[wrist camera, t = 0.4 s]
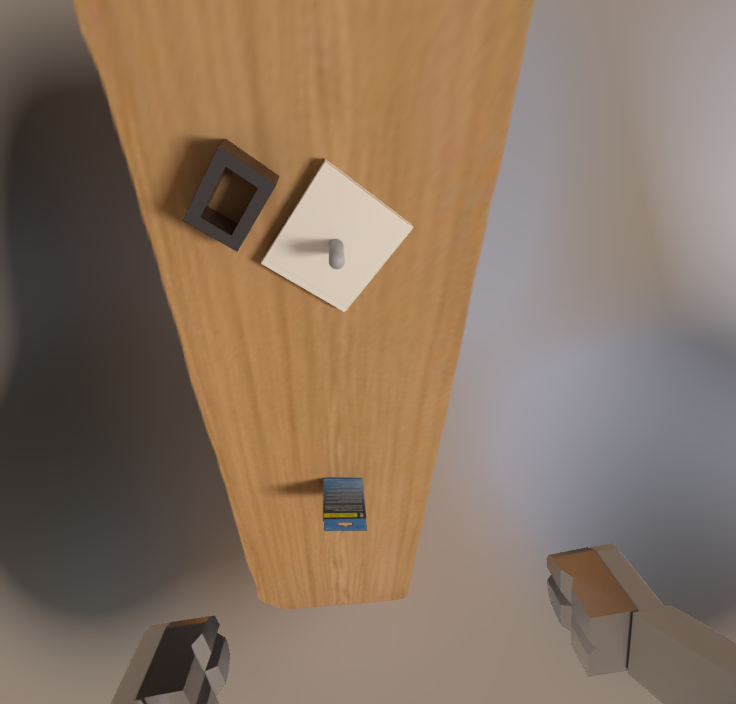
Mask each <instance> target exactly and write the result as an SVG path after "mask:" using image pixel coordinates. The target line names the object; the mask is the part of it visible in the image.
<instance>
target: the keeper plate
mask: <svg viewBox="0 0 736 704" xmlns="http://www.w3.org/2000/svg"><path fill="white" fill-rule="evenodd" d="M412 229H413V227H412V224H411V223H409V222H408V221H407V220H405V219H404V218H403V217H402V216H400V215H399V214H398V213H396V212H395V211H394V210H392V209H391V208H390V207H388V206H387V205H386V204H384V203H383V202H382V201H380V200H379V199H378V198H376V197H375V196H374V195H372V194H371V193H370V192H369V191H367V190H366V189H365V188H363V187H362V186H361V185H359V184H358V183H357V182H355V181H354V180H353V179H351V178H350V177H349V176H347V175H346V174H345V173H343V172H342V171H341V170H340V169H338V168H337V167H336V166H334V165H333V164H332V163H330V162H329V161H328V160H326V159H325V160H324V161H323V163H322V165H321V166H320V168H319V169H318V171H317V173H316V174H315V176H314V177H313V179H312V181H311V182H310V184H309V185H308V187H307V188H306V190H305V192H304V193H303V195H302V196H301V198H300V200H299V201H298V203H297V204H296V206H295V208H294V209H293V211H292V212H291V214H290V216H289V217H288V219H287V220H286V222H285V224H284V225H283V227H282V228H281V230H280V232H279V233H278V235H277V236H276V238H275V240H274V241H273V243H272V244H271V246H270V248H269V249H268V251H267V252H266V254H265V256H264V257H263V259H262V262H261V264H262V265H264V266H266V267H268V268H269V269H271V270H273V271H274V272H276V273H278V274H280V275H281V276H283V277H285V278H287V279H288V280H290V281H292V282H293V283H295V284H297V285H299V286H300V287H302V288H304V289H306V290H307V291H309V292H311V293H312V294H314V295H316V296H318V297H319V298H321V299H323V300H324V301H326V302H328V303H330V304H331V305H333V306H335V307H337V308H338V309H340V310H342V311H343V312H345V311H346V310H347V309H348V308H349V306H350V305H351V304H352V303H353V301H354V300H355V299H356V298H357V297H358V295H359V294H360V293H361V292H362V290H363V289H364V288H365V287H366V285H367V284H368V283H369V282H370V281H371V279H372V278H373V277H374V276H375V274H376V273H377V272H378V271H379V269H380V268H381V267H382V266H383V264H384V263H385V262H386V261H387V260H388V258H389V257H390V256H391V255H392V253H393V252H394V251H395V250H396V248H397V247H398V246H399V245H400V244H401V242H402V241H403V240H404V239H405V237H406V236H407V235H408V234H409V232H410V231H411V230H412Z"/></svg>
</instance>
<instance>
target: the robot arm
mask: <svg viewBox="0 0 736 704" xmlns="http://www.w3.org/2000/svg"><path fill="white" fill-rule="evenodd" d="M547 567H548V569H549V571H550V573H551V574H552V575H551V576H550V577H549V578H548V580H547V584H548V592H549V597H550V601H551V604H552V606H553V609H554V611H555V614H556V616H557V617H558V620H559V622H560V623H561V625H562V626H564V627H565V628H567V629H568V630H569V631H571V645H572V647H573V649H574V651H575V653H576V654H577V656H578V658H579V660H580V662H581V664H582V666H583V668H584V669H585V672H586V673H587V675H588V676H593V675H600V674H608V673H615V672H622V671H628V674H629V675H630V676H632V677H633V678H634V679H635V680H636V681H637V682H639V683H640V684H641V685H642V686H643V687H645V688H646V689H647V690H648V691H649V692H650V693H651V694H653V695H654V696H655V697H656V698H657V699H659V700H660V701H661V702H662V703H663V704H736V643H735V642H733V641H732V640H730V639H728V638H727V637H725V636H723V635H721V634H720V633H718V632H716V631H714V630H713V629H711V628H709V627H707V626H706V625H704V624H702V623H700V622H699V621H697V620H695V619H694V618H692V617H690V616H688V615H687V614H685V613H683V612H681V611H680V610H678V609H676V608H675V607H673V606H666V607H665V606H664V605H663V604H662V603H661V601H660V600H659V599H658V598H657V596H656V595H655V594H654V593H653V592H652V590H651V589H650V588H649V587H648V585H647V584H646V583H645V582H644V580H643V579H642V578H641V577H640V575H639V574H638V573H637V572H636V570H635V569H634V568H633V567H632V566H631V564H630V563H629V562H628V561H627V559H626V558H625V557H624V556H623V554H622V553H621V552H620V551H619V549H618V548H617V547H616V546H614V545H613V544H605V545H600V546H594V547H590V548H588V547H586V548H581V549H576V550H571V551H566V552H560V553H555V554H551V555H548V557H547ZM219 625H220V624H219V623H218V620H217V619H216V617H215V616H208V617H201V618H194V619H187V620H181V621H174V622H168V623H162V624H156V625H151V626H150V627H149V628H148V629H147V630H146V631H145V632H144V634H143V636H142V638H141V640H140V642H139V644H138V646H137V649H136V651H135V653H134V655H133V657H132V659H131V661H130V664H129V666H128V668H127V670H126V672H125V674H124V676H123V678H122V680H121V683H120V685H119V687H118V689H117V691H116V694H115V695H114V697H113V699H112V701H111V704H219V703H218V700H217V697H216V696H217V695H218V693H219V692H220V691H221V689H222V688H223V687H224V685H225V684H226V680H227V676H228V671H229V660H230V653H229V646H228V643H227V640H226V638H225V637H224V636H222V635H220V634H219V633H217V632H218V628H219Z"/></svg>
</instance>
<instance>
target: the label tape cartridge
mask: <svg viewBox="0 0 736 704" xmlns="http://www.w3.org/2000/svg"><path fill="white" fill-rule="evenodd" d="M323 521H324V531H367V525H366V510H365V499H364V488H363V479H362V478H324V480H323ZM339 523H352V524H353V525H348V526H347V527H344V526H343V525H342V526H341V525H339Z"/></svg>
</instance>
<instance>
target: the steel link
mask: <svg viewBox="0 0 736 704" xmlns="http://www.w3.org/2000/svg"><path fill="white" fill-rule="evenodd" d="M227 168H228V169H230V170H231V171H233V172H234V173H236V174H237V175H239V176H240V177H242V178H243V179H245V180H246V181H248V182H249V183H251V184H252V185H254V186H255V187H257V190H256V192H255V193H254V195H253V197H252V199H251V200H250V202H249V204H248V206H247V208H246V209H245V211H244V213H243V215H242V217H241V218H240V220H239V222H238V224H236V223H234V222H232V221H231V220H229V219H228V218H226V217H224V216H223V215H221V214H219V213H218V212H216V211H214V210H213V209H211V208H209V207H208V205H209V203H210V202H211V200H212V198H213V196H214V194H215V192H216V190H217V188H218V186H219V184H220V182H221V180H222V178H223V176H224V174H225V172H226V170H227ZM278 178H279V176H278V175H277V174H276V173H274V172H273V171H271V170H270V169H268V168H267V167H266V166H264V165H263V164H261V163H260V162H258V161H257V160H255V159H254V158H253V157H251V156H250V155H248V154H247V153H245V152H244V151H243V150H241V149H240V148H238V147H237V146H235V145H234V144H233V143H231V142H230V141H228V140H227V139H225V140H224V141H223V142H222V143H221V144H220V145H219V146H218V148H217V150H216V152H215V155H214V157H213V159H212V161H211V163H210V165H209V167H208V169H207V171H206V173H205V175H204V177H203V180H202V182H201V184H200V186H199V188H198V190H197V192H196V194H195V196H194V198H193V200H192V202H191V205H190V207H189V209H188V211H187V213H186V215H185V217H184V219H183V221H185V222H187V223H188V224H190V225H192V226H194V227H195V228H197V229H199V230H200V231H202V232H204V233H206V234H207V235H209V236H211V237H213V238H214V239H216V240H218V241H219V242H221V243H223V244H225V245H226V246H228V247H230V248H232V249H233V250H235V251H238V250H239V248H240V246H241V245H242V243H243V241H244V239H245V238H246V236H247V234H248V233H249V231H250V229H251V227H252V226H253V224H254V222H255V220H256V219H257V217H258V215H259V214H260V212H261V210H262V208H263V207H264V205H265V203H266V202H267V200H268V198H269V196H270V195H271V193H272V191H273V190H274V188H275V186H276V184H277V181H278Z"/></svg>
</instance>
